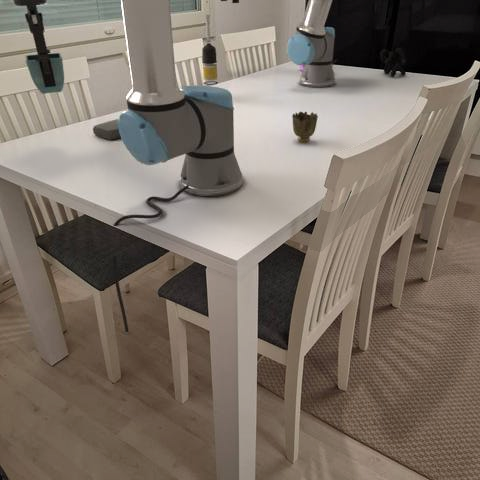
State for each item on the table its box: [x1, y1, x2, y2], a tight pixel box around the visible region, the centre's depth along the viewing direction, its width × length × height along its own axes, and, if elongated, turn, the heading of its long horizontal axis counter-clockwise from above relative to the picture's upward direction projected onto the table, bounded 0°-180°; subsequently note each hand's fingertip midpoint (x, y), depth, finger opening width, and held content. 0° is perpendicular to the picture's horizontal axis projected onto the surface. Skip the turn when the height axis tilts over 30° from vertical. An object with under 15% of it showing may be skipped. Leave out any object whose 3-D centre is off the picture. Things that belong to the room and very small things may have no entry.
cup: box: [291, 111, 319, 144], centre depth 132 cm, size 8×7×8 cm
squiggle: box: [379, 47, 407, 78], centre depth 207 cm, size 11×10×15 cm
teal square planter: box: [24, 52, 65, 95], centre depth 119 cm, size 9×9×9 cm
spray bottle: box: [92, 118, 121, 141], centre depth 147 cm, size 3×11×25 cm
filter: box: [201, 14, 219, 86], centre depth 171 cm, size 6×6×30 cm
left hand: (49, 82), depth 120 cm, fingers closed on teal square planter, 9 cm apart
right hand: (229, 2), depth 189 cm, fingers open, 13 cm apart
